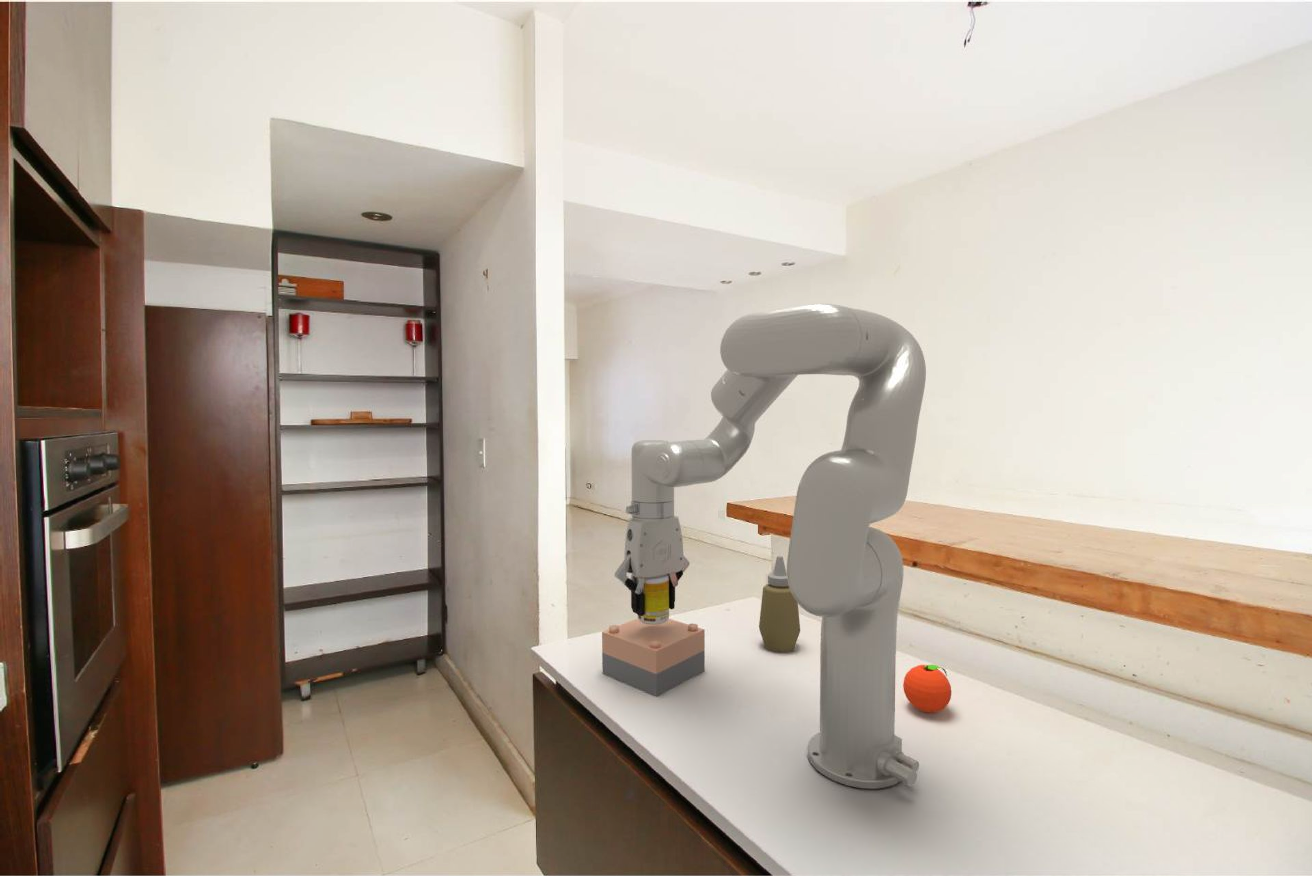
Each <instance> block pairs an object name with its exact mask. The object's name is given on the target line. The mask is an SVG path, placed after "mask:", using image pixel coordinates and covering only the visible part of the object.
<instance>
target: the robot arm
mask: <svg viewBox="0 0 1312 876" xmlns="http://www.w3.org/2000/svg"><path fill="white" fill-rule="evenodd" d="M719 347H720V350H719V351H720V352H719V353H720V357H721V358H720V359H721V361H722V364H723V366H725V368H726V371H725V372H724V373H723V374H722V375H721V377H720V378H719V379H718V380H717V382H716V383H715V384H714V385H713V387H712V388H711V391H710V398H711V402H712V404H713V406H714V408H715V409H716V411H717V412H718V413H719V414H720V415H721V416H722V418H721V419H720V421H719V423H718V424H717V425H716V427H714V429H713V430H712V431H711V432H710V433H709V434H708V435H707V436H706V437H705V439H704V438H703V439H692V440H681V441H679V440H678V441H668V440H662V439H660V440H659V439H658V440H657V439H653V440H651V439H649V440H637V441H636V442H634V443H633V444H632V446H631V454H630V455H631V501H630V505H628V506H626V507H625V512H626V514H627V515H631V517H629V519H628V522H627V526H626V527H627V529H626V534H625V541H624V542H625V543H624V557H623V558H624V560H622V562H621V564H620V565H619V566H618V568H617V569H616V571H615V572H614V577H615V578H616V579H618V580H619V582H621V583H622V584H623V585H624V586H625V587H626V588H627V589H628V590H629V591H630V607H631V610H632V612H633V613H634V614H636V615H637V614H638V615H639V616H644V614H645V595H644V593H642V588H643V585H644V581H645V578H651V577H657V576H662V575H668V577H669V610H674V609H675V602H676V587H678V584H679V581H680V579H681V578H682V577H683V575H684V573H685V572H686V570H687V569H688V568H689V566H690V565H691V563H690V561H689V560H688V559H687V558H686V557H685V555H684V543H683V541H684V540H683V534H682V527H681V524H680V523H681V522H680V520H679V516H677V515H675V488H681V487H687V486H693V485H700V484H707V483H713V482H716V481H718V480H719V479H722V478H723V477H725V476H726V475H727V473H729V472H730V471H731V470H732V469H733V467H735V465H736V464H737V463H738V462H739V461H740V460H741V459H742V458H743V457H744V455H745V454H746V453H747V451H748V450H749V448H750V447H751V443H752V440H753V438H754V434H755V430H756V428H755V427H756V423H757V422H758V420H759V419H760V418H761V416H762V415H764V413H765V412H766V411H767V410H768V409H769V408H770V407H771V406H772V405H773V403H774V402H775V401H776V400H777V399H778V398H779V396H780V395H781V394H782V393H783V392H784V391H785V390H786V389H787V388H788V387H789V386H790V385H791V383H792V382H794V380H795V379H796V378H797V377H798V376H800V375H802V376H803V375H828V376H829V375H830V376H831V375H832V376H833V375H834V376H852V377H855V378H857V379H858V387H857V390H856V391H855V394H854V395H853V398H852V401H851V403H850V405H849V409H848V412H847V418H846V425H845V426H846V427H845V432H844V438H843V442H842V445H841V449H840V450H833V451H829V452H826V453H824V454H822V455H820V456H818V457H817V458H815V459H814V460H813V461H812V462H811V463H810V464H809V465H808V466H807V467H806V469H805V471H804V472H803V474H802V476H801V479H800V481H799V484H798V486H797V491H796V496H795V502H794V503H795V504H794V510H793V517H792V524H791V531H790V536H789V537H790V538H789V544H788V551H787V559H786V573H787V579H788V584H789V587H790V590H791V593H792V595H793V597H794V599H795V600H796V601H797V603H798V606H800V608H802V609H803V610H804V611H806V612H807V613H809V614H811V615H813V616H817V617H820V618H821V622H820V624H821V625H820V651H819V652H820V653H819V654H820V662H819V663H820V664H819V665H820V666H819V668H820V669H819V670H820V671H819V678H820V679H819V732H818V733H816V734H814V735H813V736H812V737H811V738H810V740H809V741H808V744H807V757H808V759H809V762H810V763H811V765H812V766H813V767H814V768H815V769H816V771H818V772H819V773H821V774H822V775H824V776H825V777H827V778H829V779H830V780H832V781H834V782H837V783H838V784H842V785H845V786H848V787H853V788H858V789H865V790H866V789H868V790H871V789H872V790H873V789H874V790H875V789H883V788H889V787H891V786H894V785H896V784H898V783H900V782H901V783H903V784H904V785H906V786H908V787H911V788H912V787H913V786H914V785H915V783H917V782H916V781H917V777H918V775H917V773H918V771H919V767H920V763H919V761H918V760H915V759H914V758H912V757H911V756H907V755H905V754H904V752H903V748H902V745H903V738H901V737H900V736H897V735H896V734H895V727H896V726H895V721H896V720H895V718H896V717H895V716H896V713H895V712H896V664H897V663H896V662H897V661H896V657H897V656H896V655H897V627H898V617H899V616H898V613H899V608H900V607H899V606H900V600H901V596H902V589H903V583H904V562H903V558H902V553H901V551H900V548H899V547H898V545H897V544H896V542H895V541H894V540H893V539H892V538H891V537H890V536H889V535H888V534H887V533H886V532H885V531H884V532H883V531H882V530H880V529H879V528H875V527H873V526H872V527H871V526H870V525H871V524H873V523H877V522H881V521H883V520H886V519H888V518H890V517H892V516H894V515H895V514H897V513H898V512H899V511H900V510H901V509H902V507H903V506H904V504H905V502H906V499H907V496H908V490H909V486H910V485H909V484H910V478H911V477H910V476H911V472H912V471H911V470H912V465H913V459H914V453H915V448H916V442H917V434H918V427H919V425H918V424H919V420H920V415H921V414H920V413H921V411H922V410H921V408H922V403H923V400H924V399H923V398H924V393H925V387H926V377H927V371H926V370H927V369H926V368H927V367H926V366H927V365H926V361H925V355H924V353H923V350H922V348H921V346H920V344H919V343H918V340H917V339H916V338H915V337H914V335H913V334H912V333H911V332H909V330H907V329H906V328H905V327H904V326H903V325H901V324H900V323H898V322H896V321H894V320H893V319H891V318H888V317H887V316H884V315H881V314H878V313H876V312H872V311H868V310H864V309H860V308H859V309H858V308H852V307H847V306H843V305H839V304H838V305H837V304H832V303H816V304H815V303H814V304H807V305H806V304H805V305H800V306H794V307H788V308H781V309H776V310H775V309H773V310H768V311H762V312H754V313H749V314H746V315H742V316H741V317H739V318H737V319H736V320H734V321H733V322H732V323H731V324H730V325H729V326H728V328H727V329H726V330H725V332H724V334H723V336H722V338H721V343H720V346H719ZM627 573H628V574H631V576H630V577H629V576H628V574H627ZM638 615H637V616H638Z"/></svg>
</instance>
